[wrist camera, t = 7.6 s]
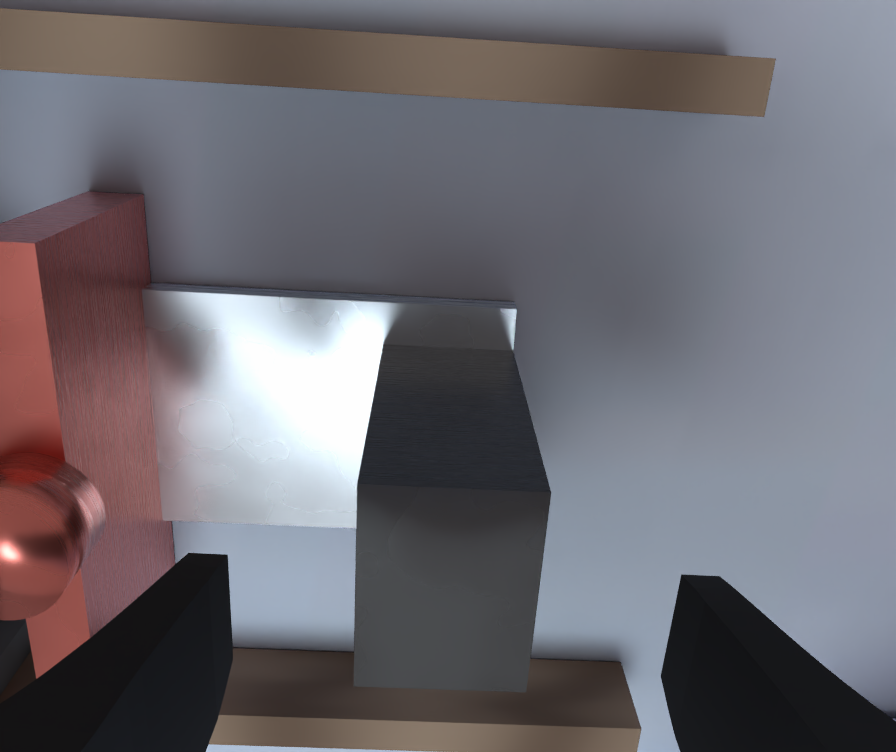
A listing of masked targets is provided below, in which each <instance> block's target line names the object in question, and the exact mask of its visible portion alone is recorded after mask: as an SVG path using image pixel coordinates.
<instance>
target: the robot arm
mask: <svg viewBox="0 0 896 752" xmlns="http://www.w3.org/2000/svg"><path fill="white" fill-rule="evenodd" d="M232 662H233V647H232V628H231V610H230V591H229V573H228V555H221V554H198V553H188V554H187V555H186V556H185V557H183V558H182V559H181V560H180V561H179V562H178V563H176V564H175V565H174V566H173V567H172V568H171V569H169V570H168V571H167V572H166V573H165V574H164V575H163V576H161V577H160V578H159V579H158V580H157V581H156V582H155V583H154V584H152V585H151V586H150V587H149V588H148V589H147V590H146V591H145V592H143V593H142V594H141V595H140V596H139V597H138V598H137V599H135V600H134V601H133V602H132V603H131V604H130V605H129V606H128V607H126V608H125V609H124V610H123V611H122V612H120V613H119V614H118V615H117V616H116V617H115V618H113V619H112V620H111V621H110V622H109V623H107V624H106V625H105V626H104V627H103V628H101V629H100V630H99V631H98V632H97V633H96V634H94V635H93V636H92V637H91V638H89V639H88V640H87V641H86V642H84V643H83V644H82V645H80V646H79V647H78V648H77V649H75V650H74V651H73V652H71V653H70V654H69V655H67V656H66V657H65V658H64V659H62V660H61V661H60V662H58V663H57V664H56V665H54V666H53V667H52V668H51V669H49V670H48V671H47V672H45V673H44V674H43V675H41V676H40V677H38V678H37V679H36V680H34V681H33V682H31V683H30V684H29V685H27V686H26V687H24V688H23V689H21V690H20V691H18V692H17V693H15V694H14V695H13V696H11V697H9V698H8V699H6V700H5V701H3V702H2V703H0V752H206V749H207V746H208V744H209V741H210V739H211V736H212V733H213V731H214V728H215V725H216V723H217V720H218V716H219V713H220V709H221V705H222V701H223V698H224V694H225V690H226V686H227V682H228V678H229V674H230V670H231V666H232ZM661 679H662V683H663V688H664V692H665V697H666V701H667V706H668V710H669V714H670V718H671V722H672V726H673V730H674V734H675V738H676V740H677V743H678V746H679V749H680V752H896V719H892V718H890V717H889V716H888V715H886V714H885V713H883V712H882V711H881V710H879V709H878V708H877V707H876V706H874V705H873V704H872V703H870V702H869V701H868V700H866V699H865V698H864V697H863V696H861V695H860V694H859V693H857V692H856V691H855V690H853V689H852V688H851V687H850V686H848V685H847V684H846V683H844V682H843V681H842V680H841V679H839V678H838V677H837V676H836V675H834V674H833V673H832V672H831V671H830V670H828V669H827V668H826V667H825V666H823V665H822V664H821V663H820V662H819V661H817V660H816V659H815V658H814V657H813V656H811V655H810V654H809V653H808V652H807V651H806V650H804V649H803V648H802V647H801V646H800V645H798V644H797V643H796V642H795V641H794V640H793V639H792V638H790V637H789V636H788V635H787V634H786V633H785V632H783V631H782V630H781V629H780V628H779V627H778V626H777V625H775V624H774V623H773V622H772V621H771V620H770V619H769V618H768V617H766V616H765V615H764V614H763V613H762V612H761V611H760V610H758V609H757V608H756V607H755V606H754V605H753V604H752V603H750V602H749V601H748V600H747V599H746V598H745V597H744V596H742V595H741V594H740V593H739V592H738V591H737V590H736V589H734V588H733V587H732V586H731V585H730V584H728V583H727V582H726V581H725V580H723V579H722V578H721V577H719V576H700V575H681V580H680V584H679V589H678V594H677V599H676V604H675V609H674V614H673V619H672V624H671V629H670V634H669V639H668V643H667V648H666V653H665V658H664V663H663V668H662V673H661Z"/></svg>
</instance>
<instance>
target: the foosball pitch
mask: <svg viewBox="0 0 896 752" xmlns="http://www.w3.org/2000/svg"><path fill="white" fill-rule="evenodd" d="M775 60H776V59H772V58H757V57H742V56H726V55H711V54H696V53H680V52H665V51H649V50H634V49H619V48H603V47H588V46H573V45H557V44H542V43H527V42H511V41H496V40H480V39H465V38H450V37H434V36H419V35H404V34H388V33H373V32H357V31H342V30H327V29H311V28H296V27H281V26H265V25H250V24H234V23H219V22H204V21H188V20H173V19H158V18H142V17H127V16H111V15H96V14H81V13H65V12H50V11H35V10H19V9H4V8H0V69H4V70H20V71H36V72H52V73H68V74H84V75H100V76H116V77H132V78H148V79H164V80H180V81H196V82H212V83H228V84H244V85H261V86H277V87H293V88H309V89H325V90H341V91H357V92H373V93H389V94H405V95H421V96H437V97H453V98H469V99H485V100H501V101H517V102H534V103H550V104H566V105H582V106H598V107H614V108H630V109H646V110H662V111H678V112H694V113H710V114H726V115H742V116H758V117H764V115H765V110H766V105H767V100H768V95H769V90H770V85H771V80H772V75H773V70H774V65H775ZM34 680H36V674H35V668H34V663H33V657H32V651H31V646H30V640H29V634H28V629H27V623H26V619H21V620H0V703H2V702H3V701H5V700H6V699H8V698H9V697H11V696H13V695H14V694H15V693H17V692H18V691H20V690H21V689H23V688H24V687H26V686H27V685H29V684H30V683H31V682H33V681H34ZM640 733H641V726H640V723H639V720H638V717H637V713H636V710H635V707H634V704H633V700H632V697H631V694H630V691H629V687H628V684H627V681H626V678H625V675H624V671H623V668H622V665H621V662H601V661H573V660H546V659H530V665H529V673H528V681H527V690H526V692H497V691H469V690H440V689H411V688H382V687H354V653H353V652H326V651H298V650H270V649H243V648H233V662H232V666H231V670H230V674H229V678H228V682H227V686H226V690H225V694H224V698H223V701H222V705H221V709H220V713H219V716H218V720H217V723H216V725H215V728H214V731H213V733H212V736H211V739H210V741H209V744H218V745H249V746H281V747H312V748H343V749H375V750H406V751H437V752H637V748H638V743H639V738H640Z"/></svg>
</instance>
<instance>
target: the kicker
mask: <svg viewBox="0 0 896 752" xmlns="http://www.w3.org/2000/svg"><path fill="white" fill-rule="evenodd" d="M516 313H517V308H516V305H515V302H507V301H488V300H469V299H451V298H432V297H413V296H394V295H375V294H356V293H337V292H318V291H299V290H281V289H262V288H243V287H224V286H205V285H186V284H167V283H151V278H150V266H149V255H148V243H147V231H146V220H145V208H144V196H143V194H125V193H108V192H90V191H88V192H85V193H82V194H80V195H77V196H74V197H72V198H69V199H66V200H63V201H61V202H58V203H55V204H53V205H50V206H47V207H44V208H42V209H39V210H36V211H34V212H31V213H28V214H25V215H23V216H20V217H17V218H15V219H12V220H9V221H7V222H4V223H1V224H0V620H21V619H26V623H27V629H28V634H29V640H30V646H31V651H32V657H33V663H34V668H35V674H36V679H37V678H38V677H40V676H41V675H43V674H44V673H45V672H47V671H48V670H49V669H51V668H52V667H53V666H54V665H56V664H57V663H58V662H60V661H61V660H62V659H64V658H65V657H66V656H67V655H69V654H70V653H71V652H73V651H74V650H75V649H77V648H78V647H79V646H80V645H82V644H83V643H84V642H86V641H87V640H88V639H89V638H91V637H92V636H93V635H94V634H96V633H97V632H98V631H99V630H100V629H101V628H103V627H104V626H105V625H106V624H107V623H109V622H110V621H111V620H112V619H113V618H115V617H116V616H117V615H118V614H119V613H120V612H122V611H123V610H124V609H125V608H126V607H128V606H129V605H130V604H131V603H132V602H133V601H134V600H135V599H137V598H138V597H139V596H140V595H141V594H142V593H143V592H145V591H146V590H147V589H148V588H149V587H150V586H151V585H152V584H154V583H155V582H156V581H157V580H158V579H159V578H160V577H161V576H163V575H164V574H165V573H166V572H167V571H168V570H169V569H171V568H172V567H173V566H174V565H175V557H174V545H173V534H172V522H171V521H188V522H212V523H235V524H259V525H283V526H307V527H330V528H354V529H356V574H355V631H354V687H382V688H411V689H440V690H469V691H497V692H526V690H527V681H528V673H529V665H530V657H531V649H532V641H533V633H534V625H535V617H536V609H537V601H538V593H539V585H540V577H541V569H542V561H543V553H544V545H545V537H546V529H547V521H548V513H549V505H550V497H551V491H550V487H549V483H548V480H547V476H546V472H545V468H544V465H543V461H542V457H541V454H540V450H539V446H538V442H537V439H536V435H535V431H534V427H533V424H532V420H531V416H530V413H529V409H528V405H527V401H526V398H525V394H524V390H523V387H522V383H521V379H520V375H519V372H518V368H517V364H516V361H515V357H514V353H513V344H514V334H515V324H516Z"/></svg>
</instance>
